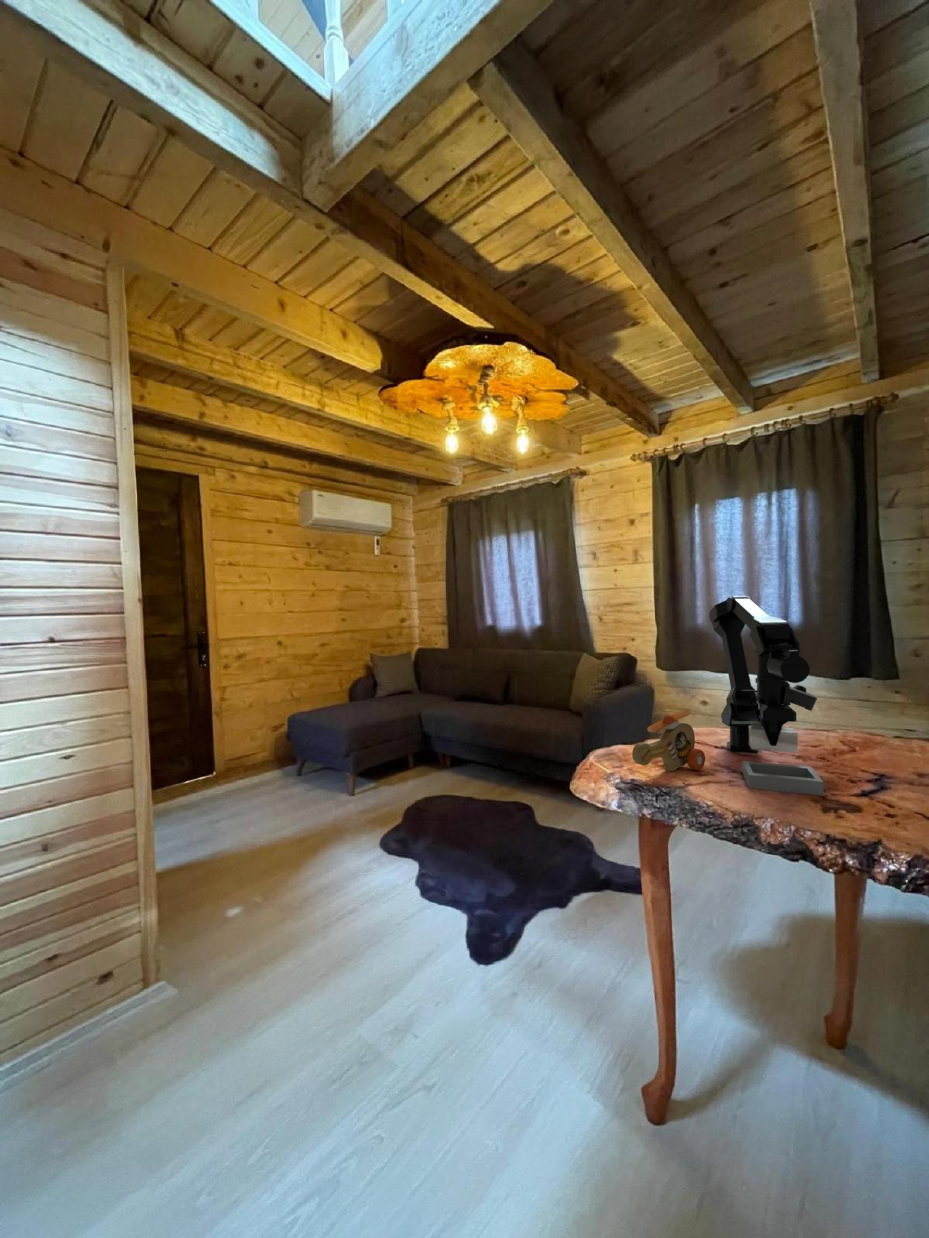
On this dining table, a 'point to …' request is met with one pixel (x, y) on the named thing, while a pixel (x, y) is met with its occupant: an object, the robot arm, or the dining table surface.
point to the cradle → (782, 778)
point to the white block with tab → (784, 743)
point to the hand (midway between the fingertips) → (771, 742)
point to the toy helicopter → (671, 745)
